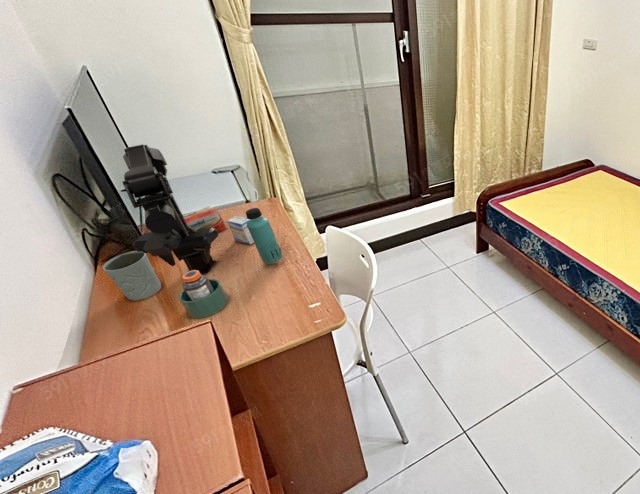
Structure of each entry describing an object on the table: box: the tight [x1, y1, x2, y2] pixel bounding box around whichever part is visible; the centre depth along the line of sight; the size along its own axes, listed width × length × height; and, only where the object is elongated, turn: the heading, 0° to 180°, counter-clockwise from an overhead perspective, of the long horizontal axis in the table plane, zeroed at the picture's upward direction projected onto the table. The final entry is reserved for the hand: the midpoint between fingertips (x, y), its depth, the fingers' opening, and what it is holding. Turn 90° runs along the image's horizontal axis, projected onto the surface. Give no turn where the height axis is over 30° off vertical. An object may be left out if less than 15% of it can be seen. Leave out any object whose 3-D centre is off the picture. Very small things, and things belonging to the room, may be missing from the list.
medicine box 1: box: [183, 205, 227, 233], centre depth 150 cm, size 15×8×8 cm, turn 142°
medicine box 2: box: [226, 215, 255, 245], centre depth 145 cm, size 8×4×9 cm, turn 68°
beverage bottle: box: [245, 207, 283, 265], centre depth 129 cm, size 6×7×20 cm
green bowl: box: [178, 278, 229, 319], centre depth 115 cm, size 10×10×6 cm
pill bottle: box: [181, 270, 214, 301], centre depth 114 cm, size 6×6×11 cm
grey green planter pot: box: [102, 250, 162, 302], centre depth 121 cm, size 10×10×12 cm
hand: (190, 264), depth 113 cm, fingers open, 9 cm apart
